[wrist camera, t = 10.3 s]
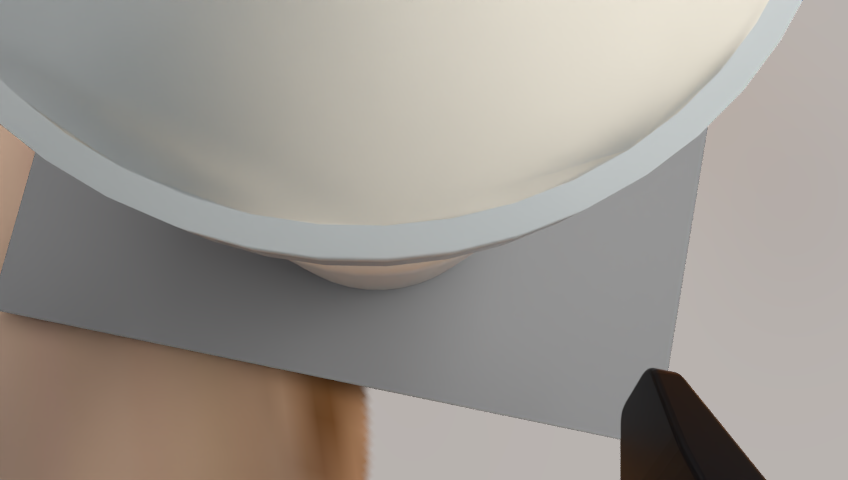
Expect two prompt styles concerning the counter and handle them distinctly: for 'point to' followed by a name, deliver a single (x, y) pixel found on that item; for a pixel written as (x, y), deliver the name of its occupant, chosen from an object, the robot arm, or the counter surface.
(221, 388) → the counter surface
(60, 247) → the holder
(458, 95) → the white mug
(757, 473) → the robot arm
